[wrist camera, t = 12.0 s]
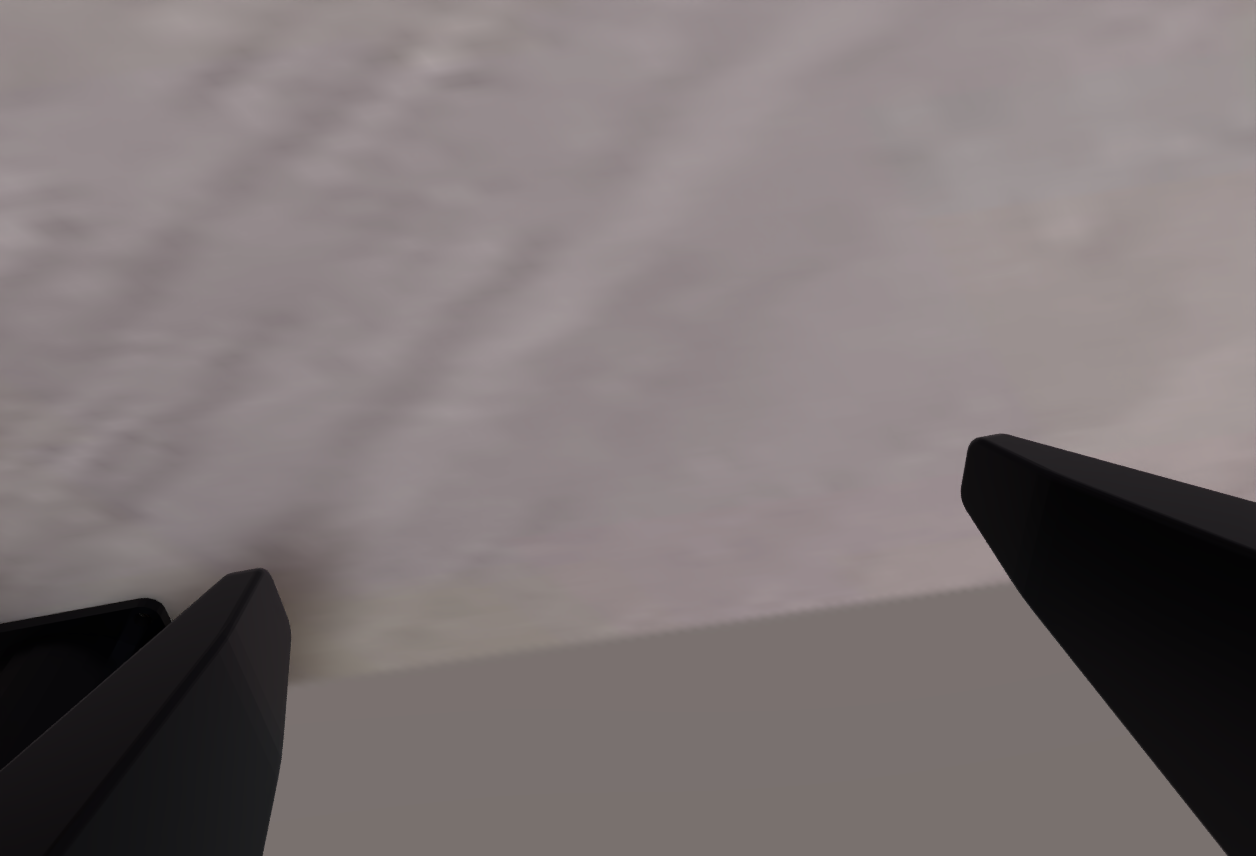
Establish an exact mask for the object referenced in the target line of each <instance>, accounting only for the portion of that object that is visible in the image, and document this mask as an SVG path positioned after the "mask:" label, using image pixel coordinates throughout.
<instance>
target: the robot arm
mask: <svg viewBox="0 0 1256 856" xmlns="http://www.w3.org/2000/svg"><path fill="white" fill-rule="evenodd" d="M961 498H962V502H963V505H964V507H965V509H966V511H967V512H968V514H969V515H970V517H971V518H972V520H973V522H974V523H975V525H976V526H977V528H978V529H979V531H980V533H981V534H982V536H983V537H984V539H985V540H986V542H987V543H988V545H989V547H990V548H991V550H992V551H993V553H994V554H995V556H996V557H997V559H998V561H999V562H1000V564H1001V565H1002V567H1003V568H1004V570H1005V572H1006V573H1007V575H1008V576H1009V578H1010V579H1011V581H1012V582H1013V584H1014V585H1015V587H1016V588H1017V590H1018V591H1019V593H1020V594H1021V595H1022V597H1023V598H1024V600H1025V601H1026V602H1027V604H1028V605H1029V606H1030V608H1031V609H1032V610H1033V612H1034V613H1035V614H1036V615H1037V617H1038V618H1039V619H1040V620H1041V622H1042V623H1043V624H1044V626H1045V627H1046V628H1047V629H1048V630H1049V631H1050V633H1051V634H1052V636H1053V637H1054V638H1055V639H1056V641H1057V642H1058V643H1059V644H1060V646H1061V647H1062V648H1063V649H1064V650H1065V652H1066V653H1067V654H1068V656H1069V657H1070V658H1071V659H1072V661H1073V662H1074V663H1075V665H1076V666H1077V667H1078V668H1079V670H1080V671H1081V672H1082V673H1083V675H1084V676H1085V677H1086V678H1087V680H1088V681H1089V682H1090V683H1091V685H1092V686H1093V687H1094V688H1095V690H1096V691H1097V692H1098V693H1099V694H1100V696H1101V697H1102V698H1103V700H1104V701H1105V702H1106V703H1107V705H1108V706H1109V707H1110V709H1111V710H1112V711H1113V712H1114V713H1115V715H1116V716H1117V717H1118V719H1119V720H1120V721H1121V722H1122V724H1123V725H1124V726H1125V727H1126V729H1127V730H1128V731H1129V732H1130V734H1131V735H1132V736H1133V737H1134V739H1135V740H1136V741H1137V742H1138V744H1139V745H1140V746H1141V748H1142V749H1143V750H1144V751H1145V753H1146V754H1147V755H1148V756H1149V757H1150V759H1151V760H1152V761H1153V762H1154V764H1155V765H1156V766H1157V768H1158V769H1159V770H1160V771H1161V773H1162V774H1163V775H1164V776H1165V778H1166V779H1167V780H1168V781H1169V783H1170V784H1171V785H1172V787H1173V788H1174V789H1175V790H1176V792H1177V793H1178V794H1179V795H1180V797H1181V798H1182V799H1183V800H1184V802H1185V803H1186V804H1187V805H1188V807H1189V808H1190V809H1191V810H1192V812H1193V813H1194V814H1195V815H1196V817H1197V818H1198V819H1199V820H1200V822H1201V823H1202V824H1203V826H1204V827H1205V828H1206V829H1207V831H1208V832H1209V833H1210V834H1211V836H1212V837H1213V838H1214V839H1215V840H1216V842H1217V843H1218V844H1219V846H1220V847H1221V848H1222V849H1223V851H1224V852H1225V853H1226V854H1227V856H1256V502H1253V501H1249V500H1245V499H1242V498H1238V497H1234V496H1231V495H1227V494H1223V493H1220V492H1216V491H1212V490H1209V489H1205V488H1202V487H1198V486H1194V485H1191V484H1187V483H1183V482H1180V481H1176V480H1172V479H1169V478H1165V477H1161V476H1158V475H1154V474H1150V473H1147V472H1143V471H1139V470H1136V469H1132V468H1128V467H1125V466H1121V465H1117V464H1114V463H1110V462H1107V461H1103V460H1099V459H1096V458H1092V457H1088V456H1085V455H1081V454H1077V453H1074V452H1070V451H1066V450H1063V449H1059V448H1055V447H1052V446H1048V445H1044V444H1041V443H1037V442H1033V441H1030V440H1026V439H1023V438H1019V437H1015V436H1012V435H1008V434H995V435H989V436H984V437H979V438H976V439H974V440H973V441H972V442H971V443H970V445H969V447H968V450H967V456H966V462H965V468H964V473H963V479H962V485H961ZM139 613H145V614H148V615H149V616H150V617H143V616H141V615H140V614H139ZM290 647H291V630H290V624H289V620H288V617H287V615H286V612H285V610H284V607H283V604H282V602H281V599H280V597H279V594H278V591H277V589H276V586H275V584H274V581H273V579H272V576H271V575H270V573H269V572H268V571H267V570H265V569H263V568H256V569H251V570H245V571H239V572H234V573H230V574H227V575H226V576H224V577H223V578H222V579H221V580H220V581H218V582H217V583H216V584H215V585H214V586H213V587H211V588H210V589H209V590H208V591H207V592H206V593H205V594H203V595H202V596H201V597H200V598H199V599H198V600H196V601H195V602H194V603H193V604H192V605H191V606H190V607H188V608H187V609H186V610H185V611H184V612H183V613H181V614H180V615H179V616H178V617H177V618H176V619H175V620H173V621H172V622H171V620H170V618H169V616H168V613H167V611H166V609H165V607H164V606H163V605H162V604H161V603H160V602H158V601H156V600H154V599H150V598H141V599H135V600H130V601H124V602H119V603H114V604H108V605H103V606H97V607H92V608H86V609H81V610H76V611H70V612H65V613H59V614H54V615H48V616H43V617H37V618H32V619H27V620H21V621H16V622H10V623H5V624H0V856H263V851H264V845H265V841H266V836H267V831H268V826H269V821H270V816H271V811H272V806H273V801H274V796H275V791H276V786H277V781H278V776H279V770H280V764H281V758H282V749H283V748H282V747H283V738H284V726H285V713H286V699H287V686H288V673H289V660H290Z"/></svg>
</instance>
